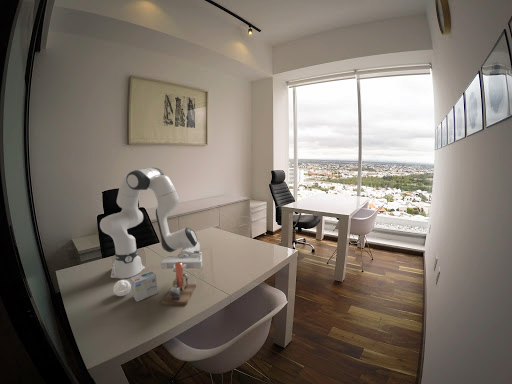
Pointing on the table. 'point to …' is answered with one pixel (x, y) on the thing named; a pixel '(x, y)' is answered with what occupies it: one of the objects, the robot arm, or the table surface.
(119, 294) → the white frosted cupcake
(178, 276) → the lever
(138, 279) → the light bulb box
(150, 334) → the table surface
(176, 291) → the valve pipe
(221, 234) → the table surface
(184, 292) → the mounting board
